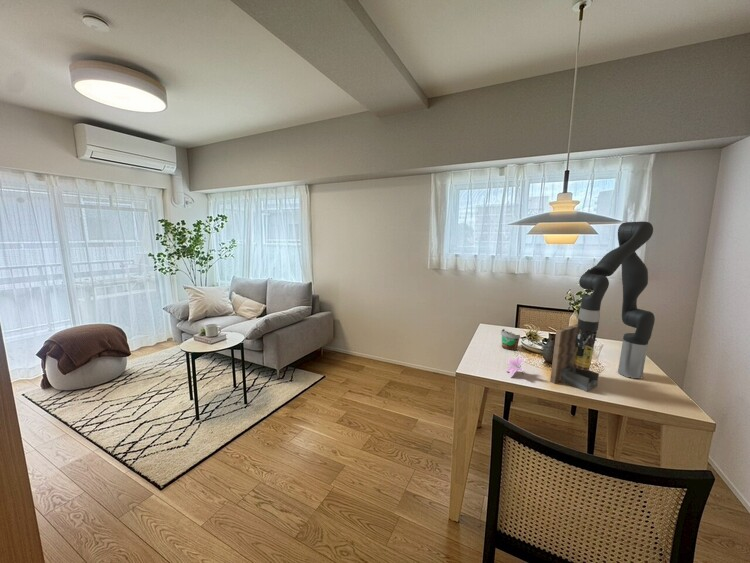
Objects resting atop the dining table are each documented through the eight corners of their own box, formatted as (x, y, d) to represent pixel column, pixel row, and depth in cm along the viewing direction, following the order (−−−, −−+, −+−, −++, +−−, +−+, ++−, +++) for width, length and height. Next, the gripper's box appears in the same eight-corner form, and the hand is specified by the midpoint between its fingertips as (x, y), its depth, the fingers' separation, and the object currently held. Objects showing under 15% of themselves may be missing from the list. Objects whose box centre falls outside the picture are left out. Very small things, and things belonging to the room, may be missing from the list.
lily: (508, 368, 155) (501, 354, 152) (532, 365, 149) (525, 350, 146) (508, 385, 145) (500, 370, 143) (534, 382, 139) (527, 366, 136)
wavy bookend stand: (572, 372, 150) (578, 324, 145) (602, 383, 139) (609, 331, 135) (550, 381, 139) (556, 330, 135) (580, 394, 128) (588, 339, 124)
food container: (494, 345, 184) (496, 329, 182) (502, 344, 186) (503, 328, 184) (511, 352, 173) (513, 336, 171) (519, 351, 175) (520, 335, 173)
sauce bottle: (571, 367, 137) (577, 326, 133) (575, 363, 141) (580, 323, 138) (589, 372, 132) (595, 329, 129) (591, 368, 136) (598, 326, 133)
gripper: (587, 314, 140) (582, 348, 142) (571, 318, 132) (566, 354, 135) (605, 318, 133) (600, 354, 136) (590, 323, 126) (585, 360, 129)
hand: (583, 354), depth 135 cm, fingers closed on sauce bottle, 6 cm apart
